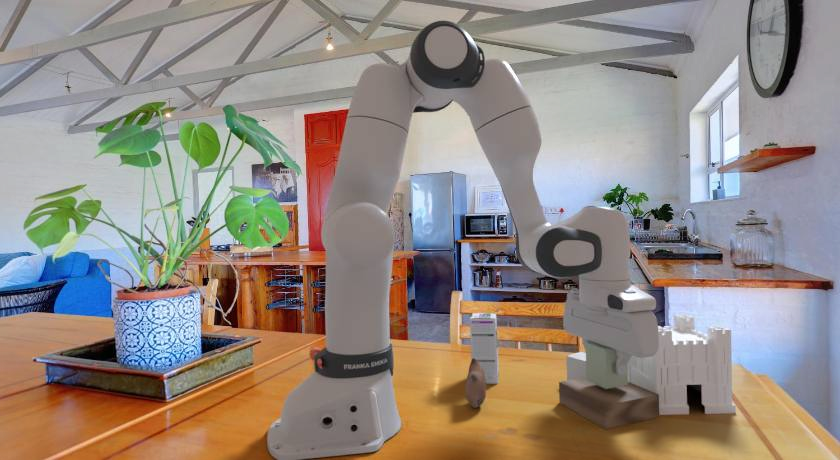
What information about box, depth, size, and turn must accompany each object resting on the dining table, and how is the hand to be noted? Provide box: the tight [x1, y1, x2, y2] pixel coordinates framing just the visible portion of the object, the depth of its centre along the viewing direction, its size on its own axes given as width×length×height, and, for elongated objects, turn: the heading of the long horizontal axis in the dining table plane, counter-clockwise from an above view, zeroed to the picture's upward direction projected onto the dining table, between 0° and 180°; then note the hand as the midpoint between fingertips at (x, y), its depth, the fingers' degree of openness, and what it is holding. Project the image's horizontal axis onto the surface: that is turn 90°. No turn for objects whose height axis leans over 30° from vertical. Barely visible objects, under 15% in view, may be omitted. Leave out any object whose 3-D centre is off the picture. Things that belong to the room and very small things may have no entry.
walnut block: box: [558, 377, 660, 430], centre depth 81 cm, size 12×12×4 cm
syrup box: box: [469, 312, 500, 385], centre depth 98 cm, size 6×6×14 cm
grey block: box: [566, 351, 586, 381], centre depth 94 cm, size 5×5×6 cm
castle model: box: [628, 313, 737, 416], centre depth 85 cm, size 14×14×15 cm
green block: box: [585, 342, 628, 389], centre depth 81 cm, size 5×5×7 cm
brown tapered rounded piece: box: [464, 358, 487, 409], centre depth 85 cm, size 9×4×8 cm, turn 175°
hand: (606, 368), depth 81 cm, fingers closed on green block, 5 cm apart
